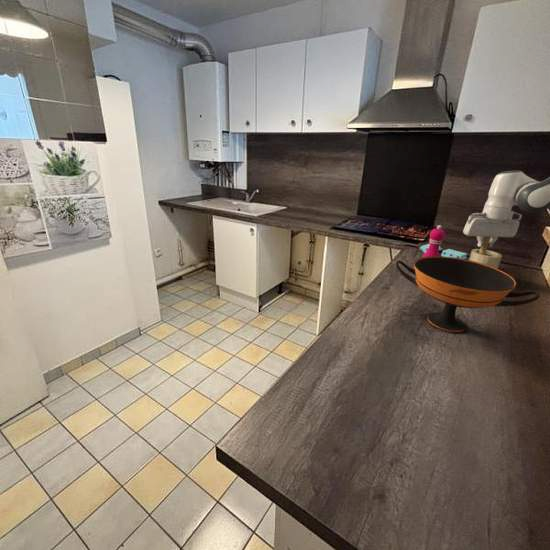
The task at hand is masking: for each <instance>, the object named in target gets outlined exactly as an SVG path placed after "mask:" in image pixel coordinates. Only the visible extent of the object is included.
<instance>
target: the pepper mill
mask: <svg viewBox="0 0 550 550" xmlns="http://www.w3.org/2000/svg"><path fill="white" fill-rule="evenodd" d="M429 237H430V238H429V244H430V245H429V248H428V250H427V251H426V252H425V253H424V252H423V254H422V257H429V256H441V254H440V250H439V246H440V245H441V244H442V243H443V239H444V238H445V237H446V232H445V230H444V229H442V225H440V224H438V225H436V228H433V229H432V230H431V231H430V232H429ZM440 247H441V246H440Z"/></svg>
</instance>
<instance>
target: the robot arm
mask: <svg viewBox="0 0 550 550" xmlns="http://www.w3.org/2000/svg"><path fill="white" fill-rule="evenodd" d="M487 195H488V197H487V199H486V202H485V204H484V206H483V209H482V212H473V213H471V214H470V215H469V216H468V218H467V221H466V223H465V226H464V228H463V230H462V233H463V235H465V236H467V237H476V239H477V247H479V248H481V247H483V246H484V244H485V243H483V239H484V237H491V238H490V241H489V244H488V247H487V248H492V247H493V244H494V243H496V242H497V240H498V239H499V238H513V237H514V236H516V235H517V232H518V229H519V227H520V220H521V219H522V217H523V215H522V214H520V213H518V212H515V211H514V210H512V209H513V206H518V208H519V209H520V210H521V211H523V212H524V213H527V214H539V213H542V212H545V211H547V210H549V209H550V176H549V177H547V178H546V179H544V180H542V181H538V180H537V179H534V178H532V177H530V176H528V175H526V174H525V173H524V172H523V171H522V170H517V169H516V170H506V171H501V172H499V173H498V174H496V175H495V176H494V178H493V180H492V183H491V185H490V188H489V191H488V194H487Z"/></svg>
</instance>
